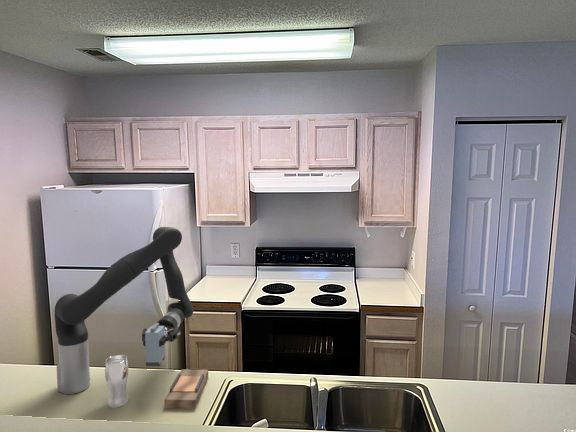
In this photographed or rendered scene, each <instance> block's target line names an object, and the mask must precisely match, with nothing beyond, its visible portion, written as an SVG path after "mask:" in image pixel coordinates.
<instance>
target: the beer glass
mask: <svg viewBox="0 0 576 432" xmlns="http://www.w3.org/2000/svg"><path fill="white" fill-rule="evenodd" d="M104 365H105V366H104V367H105V369H104V374H105V376H104V377H105V382H106V387H107V392H108V399H107V406H108V407H110V408H113V409H114V408H115V409H116V408H120V407H122V406H125V405H126V404H127V403H128V400H129V399H128V395H127V385H128V377H129V362H128V356H127V355H125V354H115V355H111V356H109V357H107V358H106V359H105V364H104Z"/></svg>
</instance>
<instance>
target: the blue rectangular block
mask: <svg viewBox="0 0 576 432" xmlns="http://www.w3.org/2000/svg"><path fill="white" fill-rule="evenodd" d="M162 336H164V326H159V323H157V322H155V323H154V324H153V325H150V326H149V328H148V329H147V331H146V332H145V346H144V347H145V366H146V367H161V363H162V361H165V359H166V349H165V346H166V345H165V344H166V343H165V344H164V345H162V346H161V347H159V340H160V339H161V338H162Z"/></svg>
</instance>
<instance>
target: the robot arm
mask: <svg viewBox="0 0 576 432" xmlns="http://www.w3.org/2000/svg"><path fill="white" fill-rule="evenodd" d="M182 240H183V235H182V232H181V231H180V230H179V229H178V228H176V227H172V226H160V227H158V228H156V229H155V230H154V232H153V234H152V241H150V242H149V244H146V245H145V246H142V247H141V248H139V249H135V250H134V251H132V252H129V253H128V254H126V255H124V256H123V257H120V258H119V259H118V260H117V261H115V262H114V263H113V264H111V265H110V266H109V267H108V268H107V269H106V270H105V271H104V273H102V275H101V277H100V278H99V279H98V281H97V282H96V283H95V284H94V285H93V286H91V287H90V288H89V289H87V290H86V291H84V292H83V293H82V294H80V295H78V294H74V293H68V294H64V295H62V296H61V297H60V298H59V299H58V300H56V303H55V306H54V310H53V311H54V322H55V323H54V326H55V327H54V328H55V333H56V337H57V346H58V364H57V365H56V385H57V392H60V393H62V394H64V395H73V394H77V393H80V392H83V391H85V390H87V389H88V388H89V387H90V386H91V378H90V377H91V375H90V372H91V371H90V370H91V369H90V350H89V349H90V347H89V331H88V328H87V326H86V324H85V321H86V320H87V319H88V318H89V317H90V316H92V314H93V313H94V312H95V311H97V309H99V307H101V306H102V305H103V304H104V303H105V302H107V301H108V300H109V299H110V298H111V297H113V296H114V295H115V294H117V293H118V292H119V291H120V290H122V289H123V288H124V287H126V286H127V285H128V284H130V283H131V282H133V280H135V279H136V278H137V277H139V276H140V275H141V274H142V273H144V272H145V271H146V270H148V268H150V267H151V266H152V265H154V264H155V263H156V262H157V261H158V260H159V261H160V264H161V267H162V270H163V274H164V279H165V285H166V290H167V294H168V297H169V298H170V299H172V300H174V299H175V300H178V301H177V302H176V301H175V302H171V303H170V304H168V306H167V308H166V313H165V314H163V315H162V316H161V317H160V318H159V319H158V321H157V322H156V323H159V326H164V336H162V338H161V339H160V340H159V347H161V346H162V345H164V344H166V343H168V342H169V343H171V342H174V341H175V340H177V339H178V338H180V337H181V328H179V327H180V325H181V324H182V322H183V321H184V319H187V318H191V317H192V316H193V314H194V306H193V303H192V301H191V299H190V298H189V296H188V293H187V291H186V286H185V281H184V277H183V274H182V271H181V270H180V267H179V265H178V263H177V261H176V257H175V255H174V250H175V249H177V248H178V247H179V246H180V244H181V242H182ZM147 330H148V329H147V328H145V327H144V328H143V329H142V332H141V341H142V345H143V347H146V346H145V332H146V331H147Z"/></svg>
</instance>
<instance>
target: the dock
mask: <svg viewBox="0 0 576 432" xmlns="http://www.w3.org/2000/svg"><path fill="white" fill-rule="evenodd" d="M179 371H180V372H179V373H177V375H176V376H175V378H174V380H173V382H172V384H171V386H170V387H169V391H168V392H167V394H166V396H165V397H164V409H179V410H180V409H185V410H186V409H193V410H195V409H196V408H197V406H198V404H199V401H200V399H201V396H202V394H203V391H204V389H205V386H206V384H207V382H208V379H209V369H188V368H187V369H186V368H185V369H183V368H182V369H180V370H179Z"/></svg>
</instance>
